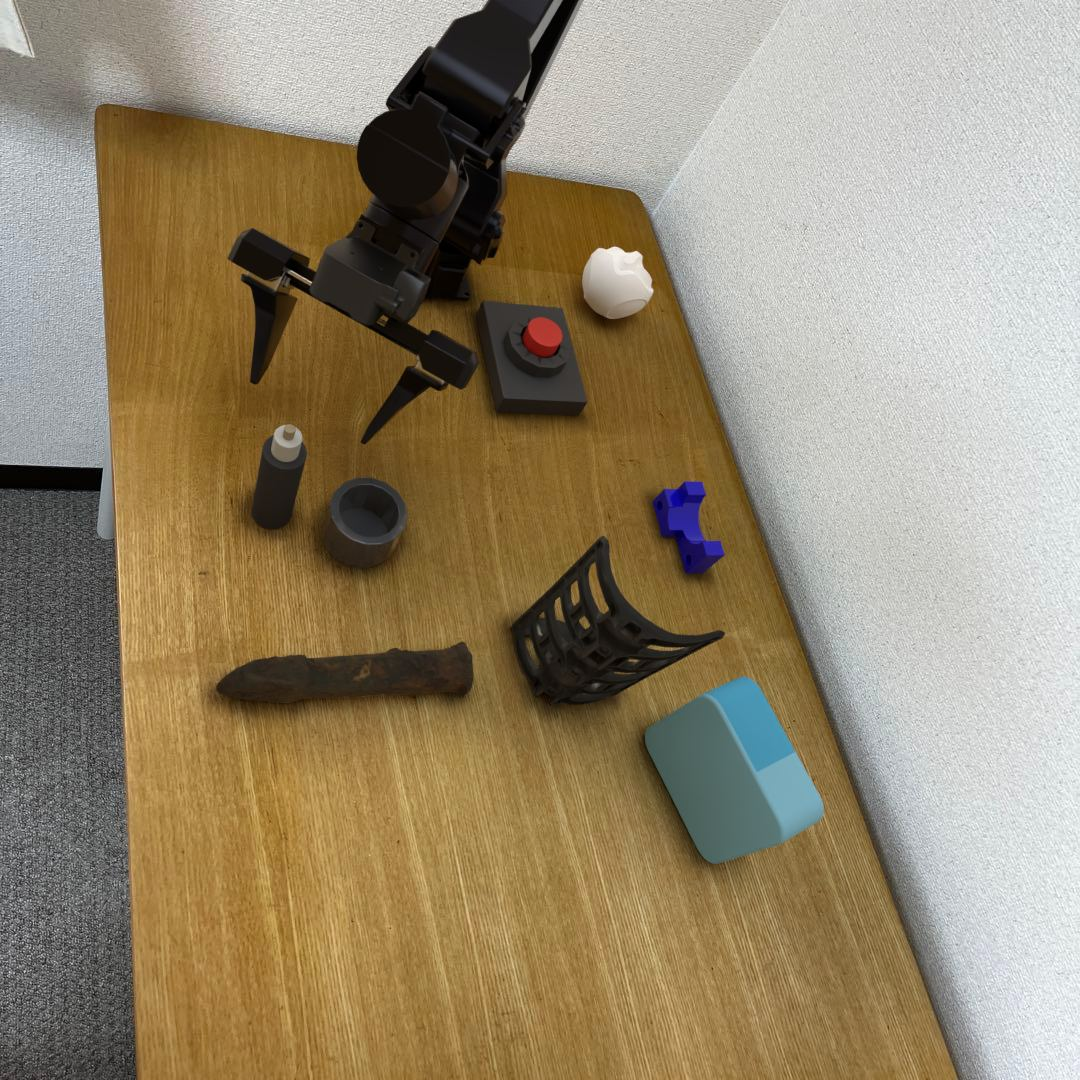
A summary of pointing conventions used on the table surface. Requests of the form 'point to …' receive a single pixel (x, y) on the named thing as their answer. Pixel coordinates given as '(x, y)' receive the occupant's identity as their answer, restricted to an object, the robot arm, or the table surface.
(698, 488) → the cable holder
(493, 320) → the switch box
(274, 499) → the capped grey cylinder
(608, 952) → the table surface
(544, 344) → the power button
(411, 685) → the hand tool
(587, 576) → the holder
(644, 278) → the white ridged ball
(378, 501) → the iron cup
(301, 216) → the table surface
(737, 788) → the data package
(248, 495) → the table surface
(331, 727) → the table surface
